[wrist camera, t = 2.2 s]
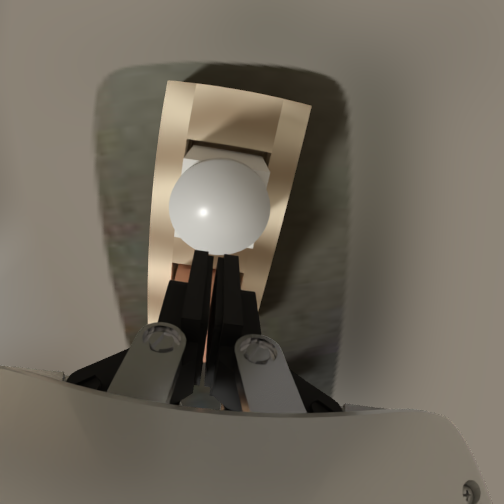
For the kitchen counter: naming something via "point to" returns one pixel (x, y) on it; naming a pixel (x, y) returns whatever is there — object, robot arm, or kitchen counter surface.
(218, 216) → the grey button
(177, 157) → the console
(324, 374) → the kitchen counter surface
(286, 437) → the robot arm
